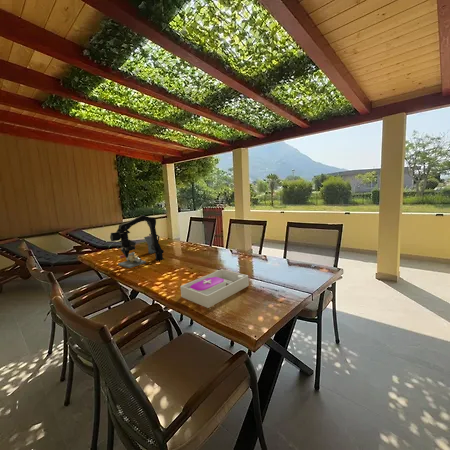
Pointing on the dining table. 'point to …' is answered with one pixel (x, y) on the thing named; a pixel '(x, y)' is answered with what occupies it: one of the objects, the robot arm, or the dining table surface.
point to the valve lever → (128, 255)
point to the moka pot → (150, 243)
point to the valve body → (134, 259)
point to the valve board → (130, 264)
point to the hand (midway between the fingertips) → (126, 257)
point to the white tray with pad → (214, 287)
